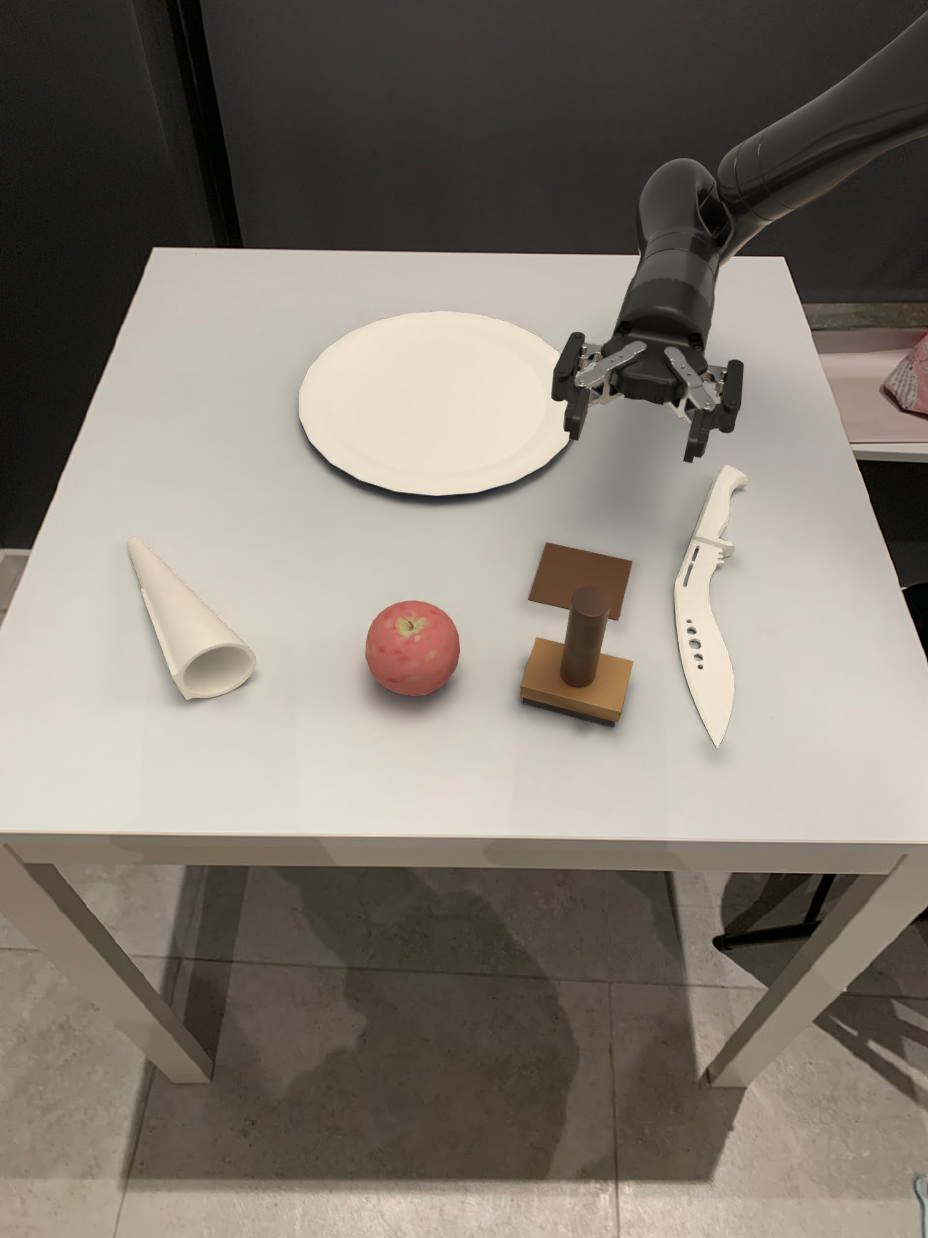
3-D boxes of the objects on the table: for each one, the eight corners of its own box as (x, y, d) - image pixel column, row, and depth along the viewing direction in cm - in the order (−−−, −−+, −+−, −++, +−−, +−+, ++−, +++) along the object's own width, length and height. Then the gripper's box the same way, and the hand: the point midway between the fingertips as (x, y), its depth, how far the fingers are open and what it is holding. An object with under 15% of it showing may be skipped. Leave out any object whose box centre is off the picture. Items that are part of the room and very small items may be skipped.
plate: (355, 303, 108) (354, 290, 107) (603, 347, 103) (605, 334, 102) (254, 472, 91) (251, 459, 90) (546, 533, 86) (547, 520, 85)
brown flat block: (632, 561, 84) (632, 560, 84) (618, 620, 80) (618, 619, 80) (546, 542, 86) (546, 542, 86) (528, 599, 82) (528, 599, 82)
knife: (722, 744, 72) (626, 709, 74) (717, 754, 73) (623, 719, 75) (801, 483, 88) (720, 459, 90) (796, 495, 89) (716, 471, 91)
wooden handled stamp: (628, 680, 77) (653, 588, 67) (616, 730, 74) (640, 641, 64) (534, 656, 78) (545, 562, 68) (518, 704, 75) (527, 614, 65)
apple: (444, 724, 74) (444, 667, 68) (357, 702, 75) (348, 644, 69) (469, 651, 78) (471, 591, 72) (386, 631, 79) (380, 570, 73)
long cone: (200, 536, 88) (265, 675, 76) (136, 563, 87) (191, 709, 75) (178, 490, 84) (243, 631, 72) (110, 519, 82) (164, 667, 70)
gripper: (586, 262, 76) (540, 383, 66) (763, 290, 73) (742, 420, 64) (577, 340, 82) (533, 462, 72) (741, 369, 79) (718, 499, 70)
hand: (631, 442), depth 68 cm, fingers open, 8 cm apart
